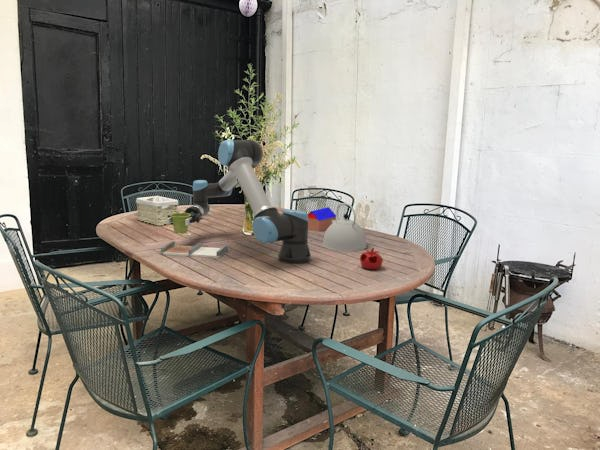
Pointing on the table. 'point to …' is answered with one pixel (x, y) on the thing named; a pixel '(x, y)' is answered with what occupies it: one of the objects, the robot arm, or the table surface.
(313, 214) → the house
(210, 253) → the slot board
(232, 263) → the table surface
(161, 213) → the storage basket
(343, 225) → the kettle
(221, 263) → the table surface
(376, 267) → the pomegranate
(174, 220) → the plant pot
